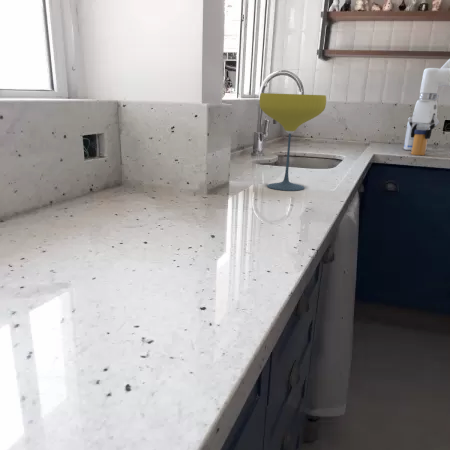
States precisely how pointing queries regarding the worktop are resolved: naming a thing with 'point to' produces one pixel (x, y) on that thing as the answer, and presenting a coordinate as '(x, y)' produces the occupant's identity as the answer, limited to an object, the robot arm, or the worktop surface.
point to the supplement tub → (408, 137)
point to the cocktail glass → (291, 120)
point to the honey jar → (419, 144)
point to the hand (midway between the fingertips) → (420, 137)
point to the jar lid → (420, 131)
